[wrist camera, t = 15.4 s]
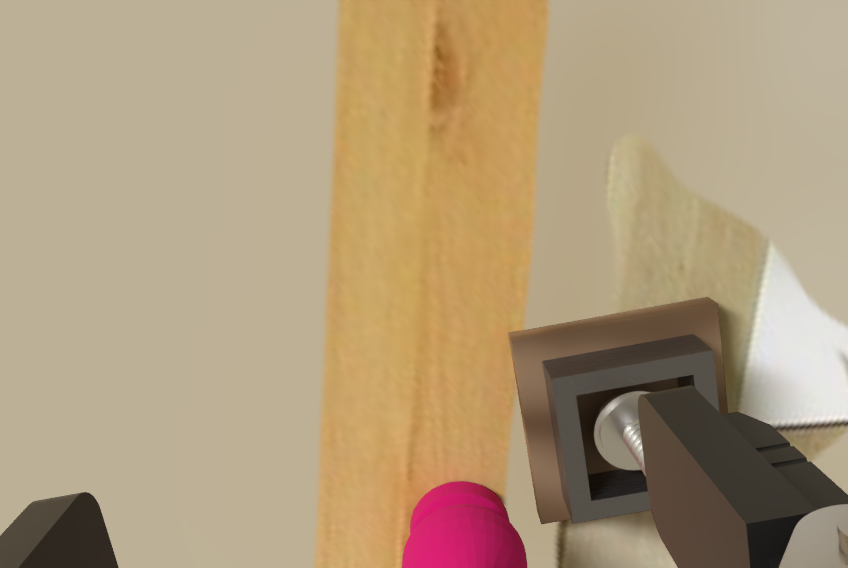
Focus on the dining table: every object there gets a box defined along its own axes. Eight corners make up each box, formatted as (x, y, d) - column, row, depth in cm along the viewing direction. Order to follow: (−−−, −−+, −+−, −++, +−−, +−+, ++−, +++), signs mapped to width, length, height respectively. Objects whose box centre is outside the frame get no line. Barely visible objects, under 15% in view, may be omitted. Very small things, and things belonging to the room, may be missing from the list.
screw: (586, 380, 46) (668, 376, 46) (585, 455, 47) (665, 452, 47) (655, 488, 33) (768, 483, 33) (651, 588, 34) (761, 583, 34)
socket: (541, 360, 45) (551, 379, 42) (693, 333, 45) (713, 350, 42) (562, 497, 47) (573, 523, 44) (707, 471, 47) (727, 496, 44)
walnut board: (508, 332, 46) (511, 340, 45) (707, 297, 46) (717, 303, 45) (537, 511, 49) (541, 524, 48) (725, 478, 49) (735, 490, 48)
